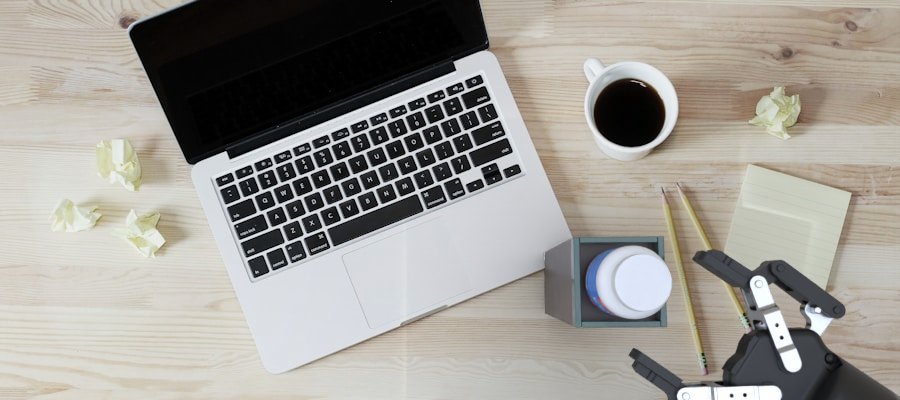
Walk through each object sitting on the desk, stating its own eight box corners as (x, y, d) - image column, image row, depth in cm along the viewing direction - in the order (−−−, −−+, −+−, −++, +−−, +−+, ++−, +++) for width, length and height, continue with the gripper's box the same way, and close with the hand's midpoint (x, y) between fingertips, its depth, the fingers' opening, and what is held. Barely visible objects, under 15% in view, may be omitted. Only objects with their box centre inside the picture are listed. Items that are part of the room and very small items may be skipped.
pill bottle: (576, 306, 61) (594, 310, 51) (590, 242, 61) (611, 234, 52) (642, 322, 60) (673, 329, 51) (656, 258, 61) (689, 253, 51)
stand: (606, 313, 87) (661, 325, 60) (544, 313, 87) (572, 326, 61) (604, 251, 88) (658, 237, 61) (543, 252, 88) (570, 238, 61)
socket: (661, 325, 60) (667, 327, 58) (572, 326, 61) (575, 327, 59) (658, 237, 61) (663, 236, 59) (570, 238, 61) (573, 236, 59)
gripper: (947, 355, 49) (734, 217, 50) (832, 540, 48) (619, 393, 49) (886, 346, 56) (702, 226, 58) (785, 505, 55) (602, 379, 57)
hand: (664, 303), depth 54 cm, fingers open, 8 cm apart
